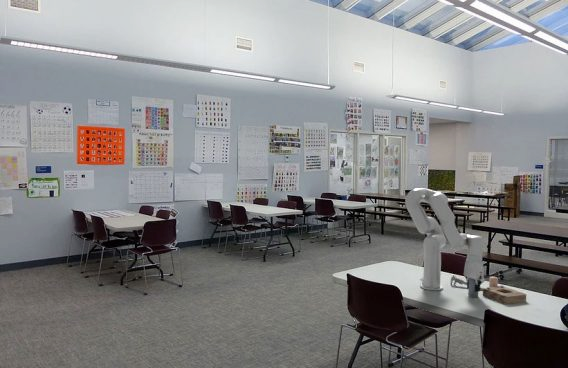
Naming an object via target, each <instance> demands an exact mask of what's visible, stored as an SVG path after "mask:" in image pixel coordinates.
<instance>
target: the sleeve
mask: <svg viewBox="0 0 568 368" xmlns="http://www.w3.org/2000/svg"><path fill="white" fill-rule="evenodd" d="M478 282H479V281H478ZM475 285H476V281H475V280H474V279H471V278H469V289H467V290H468V291H467V292H468V296H469V297H470V298H478V297H479V292H475Z"/></svg>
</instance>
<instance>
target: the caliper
mask: <svg viewBox="0 0 568 368" xmlns="http://www.w3.org/2000/svg"><path fill="white" fill-rule="evenodd" d="M456 276H457V275H454V274H453V275H452V276H451V278H450V285H453V286H455V285H456V284H459V285H465V286H467V281H466V280H465V281H464V280H463V279H461V278H458V277H456ZM483 288H484V287H481V286H480V291H482V292H483Z"/></svg>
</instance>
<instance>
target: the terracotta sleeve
mask: <svg viewBox="0 0 568 368" xmlns="http://www.w3.org/2000/svg"><path fill="white" fill-rule="evenodd" d="M498 283H499V278H498V277H497V276H489V283H488V285H489V286H488V287H497V286H499V285H498Z"/></svg>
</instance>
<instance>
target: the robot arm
mask: <svg viewBox="0 0 568 368" xmlns="http://www.w3.org/2000/svg"><path fill="white" fill-rule="evenodd" d="M448 202H449V199H448V197H447V195H446V194H445V193H442V192H440V191H435V190H432V189H429V188H424V187H420V188H419V187H418V188H414V189H412V190H410V191H409V192H408V193H407V194H406V196H405V201H404V204H405V207H406V209H407V211H408V214H409V215H410V217H411V220H412V222H413V223H414V225H415V227H416V229H417V231H418V232H419V233H420V234H422V235H426V237H425V238H424V239H423V243H422V244H423V246H422V247H423V273H422V274H423V276H422V277H421V278H419V281H421V282H422V283H421V284H420V286H419V287H420V288H422V289H424V290H427V291H433V292H434V291H441V290H443V289H444V287H443V285H441V269H442V268H441V267H442V253H441V249H442V248H444V247H445V246H446V244H447V240H448V242H449V244H450V245H451V246H452V247H453V248H455V249H458V250H459V249H463V248H465V247H467V254H466V257H467V258H466V260H465V262H464V268H463V274H462V275H463V276H464V277H465V282H467V285H466V289H467V290H469V278H471V279H474V280H475V281H476V285H475V292H478V293H479V292H481V290H480V287H481V285H482V284H483V283H484V282H486V279H485V277H484V271H485V270H484V263H483V246H484V245H483V243H484V239H483V237H482V236H481V235H475V234H472V235H471V234H467V233H462V232H461V233H460V232H459V230H458V228H457V226H456V224H455V214H454V213H453V211H452V209H451V208H450V206H449V205H448ZM421 203H426V204H429V205H430V208H431V210H432V211H433V212H434V213H435V215H436V217H437V219H438V220H439V222H440V224H441V226H440V224H439V222H438V221H437V220H436V219H435V217H432V216H428V214H427V213H426V211H425V209H424V208H423V206H422V205H421ZM478 281H479V282H478Z"/></svg>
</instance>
